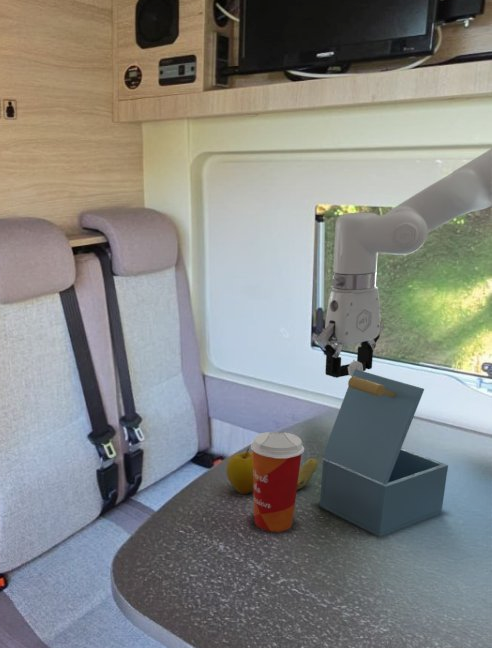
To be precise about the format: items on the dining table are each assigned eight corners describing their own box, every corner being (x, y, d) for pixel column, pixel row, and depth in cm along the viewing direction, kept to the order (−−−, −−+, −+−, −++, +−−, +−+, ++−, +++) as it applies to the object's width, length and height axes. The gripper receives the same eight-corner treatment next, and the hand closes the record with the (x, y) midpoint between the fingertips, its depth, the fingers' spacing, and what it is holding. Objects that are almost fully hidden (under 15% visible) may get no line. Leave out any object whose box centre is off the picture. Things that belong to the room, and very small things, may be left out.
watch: (343, 382, 137) (344, 364, 136) (324, 377, 141) (325, 359, 140) (372, 375, 140) (373, 357, 139) (353, 370, 144) (354, 352, 143)
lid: (357, 370, 119) (336, 362, 116) (424, 389, 108) (402, 381, 105) (324, 457, 121) (302, 452, 118) (387, 484, 110) (364, 479, 108)
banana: (307, 474, 136) (309, 455, 135) (320, 478, 134) (321, 458, 133) (281, 493, 129) (282, 473, 128) (294, 497, 128) (295, 476, 126)
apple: (256, 482, 134) (258, 442, 131) (266, 497, 128) (268, 456, 125) (222, 484, 134) (223, 444, 131) (230, 499, 128) (231, 458, 125)
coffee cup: (247, 510, 124) (250, 429, 119) (296, 512, 122) (302, 430, 117) (248, 534, 116) (251, 448, 111) (301, 537, 115) (307, 450, 109)
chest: (379, 486, 130) (383, 441, 127) (441, 513, 120) (448, 465, 117) (319, 506, 124) (323, 459, 121) (379, 537, 113) (385, 486, 110)
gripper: (335, 290, 128) (330, 385, 133) (403, 277, 135) (395, 367, 141) (304, 285, 134) (300, 376, 140) (370, 273, 141) (365, 359, 147)
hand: (348, 371), depth 140 cm, fingers closed on watch, 7 cm apart
